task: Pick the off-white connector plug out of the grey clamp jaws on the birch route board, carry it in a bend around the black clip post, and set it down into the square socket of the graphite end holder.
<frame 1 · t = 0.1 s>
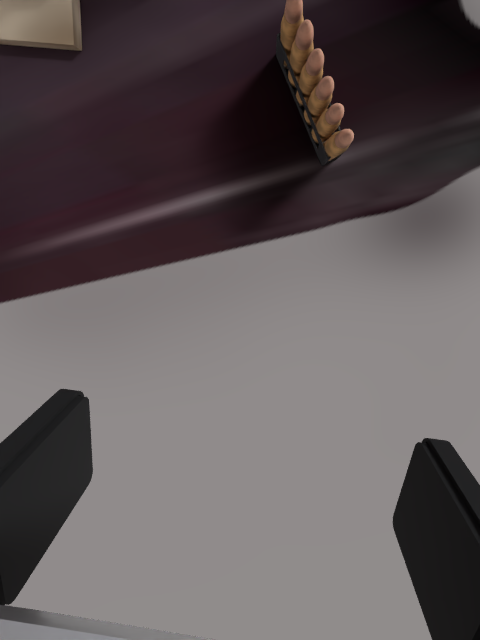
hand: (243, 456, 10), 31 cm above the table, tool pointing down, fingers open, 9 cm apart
ammunition clip: (308, 107, 35), on the table
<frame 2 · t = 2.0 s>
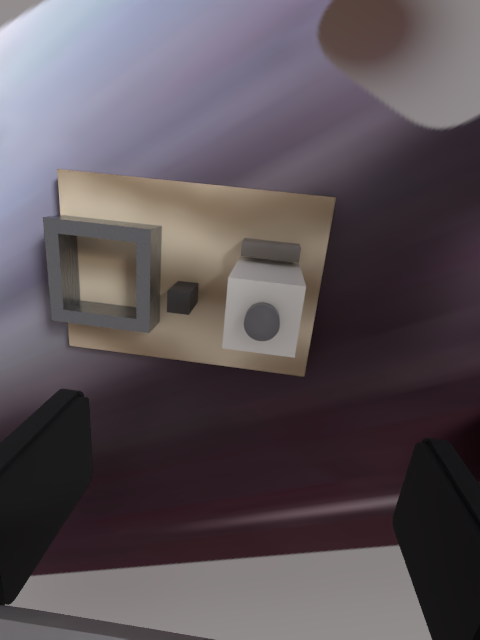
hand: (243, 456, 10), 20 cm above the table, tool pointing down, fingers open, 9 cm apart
route board: (192, 275, 30), on the table
end holder: (113, 270, 29), resting on route board
plug: (266, 288, 28), point 1 cm above the table, touching route board
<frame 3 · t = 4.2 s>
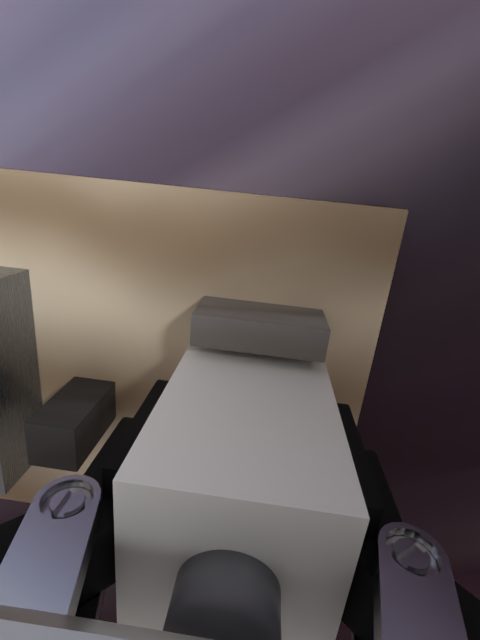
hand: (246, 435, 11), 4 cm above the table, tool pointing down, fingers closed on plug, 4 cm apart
route board: (111, 357, 15), on the table
plug: (251, 395, 14), point 2 cm above the table, touching gripper, route board
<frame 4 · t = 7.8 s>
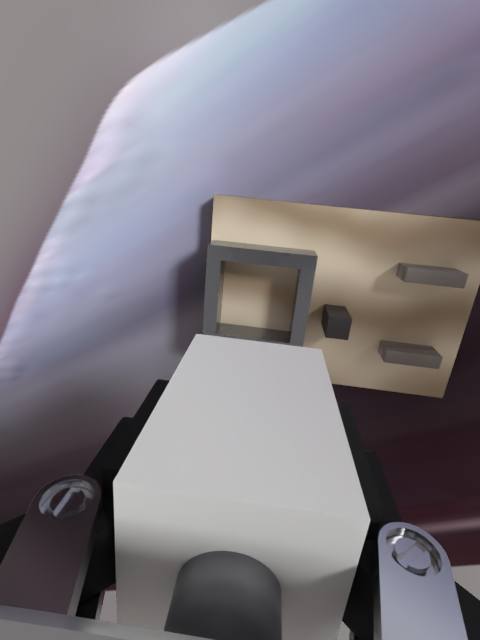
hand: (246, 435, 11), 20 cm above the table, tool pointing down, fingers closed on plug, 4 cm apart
route board: (332, 297, 30), on the table
end holder: (258, 293, 29), resting on route board
plug: (251, 395, 14), point 17 cm above the table, touching gripper
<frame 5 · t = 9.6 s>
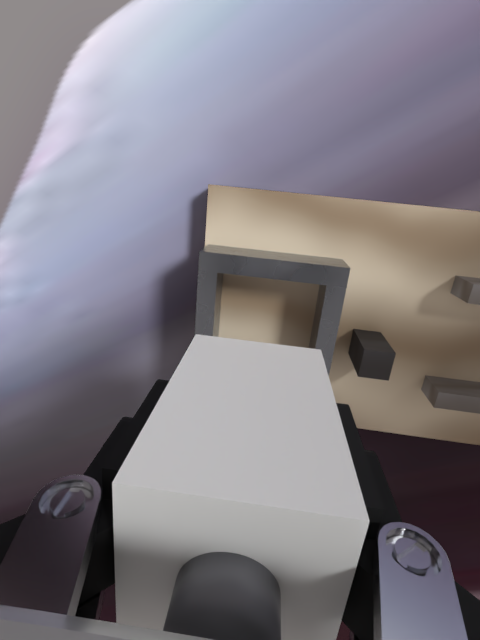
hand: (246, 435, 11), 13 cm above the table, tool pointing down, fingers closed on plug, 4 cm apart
route board: (362, 318, 23), on the table
end holder: (266, 314, 22), resting on route board
plug: (251, 396, 13), point 11 cm above the table, touching gripper
when the fingers open (5 cm above the table, at t = 11.3 s): plug drops 1 cm, resting on route board.
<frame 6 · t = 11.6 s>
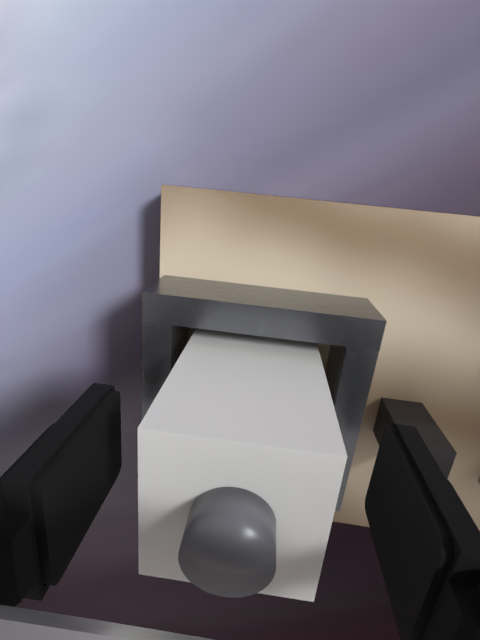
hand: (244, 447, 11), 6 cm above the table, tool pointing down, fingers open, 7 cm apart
route board: (391, 377, 16), on the table
end holder: (253, 376, 15), resting on route board
plug: (251, 376, 15), point 1 cm above the table, touching route board
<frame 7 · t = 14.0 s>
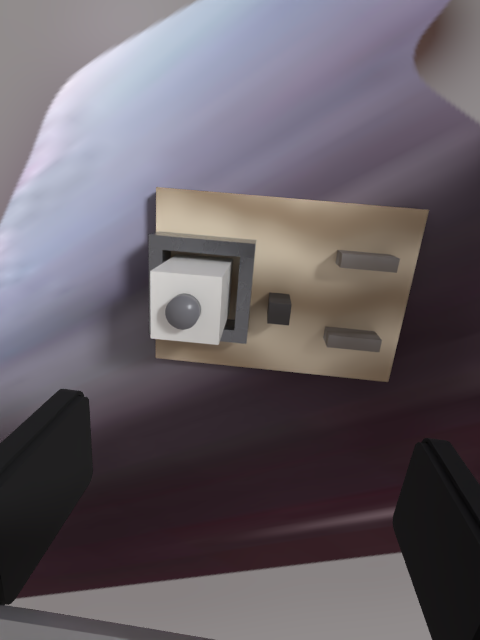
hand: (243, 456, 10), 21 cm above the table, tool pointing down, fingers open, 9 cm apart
route board: (279, 286, 30), on the table
end holder: (204, 283, 29), resting on route board
plug: (203, 283, 29), point 1 cm above the table, touching route board
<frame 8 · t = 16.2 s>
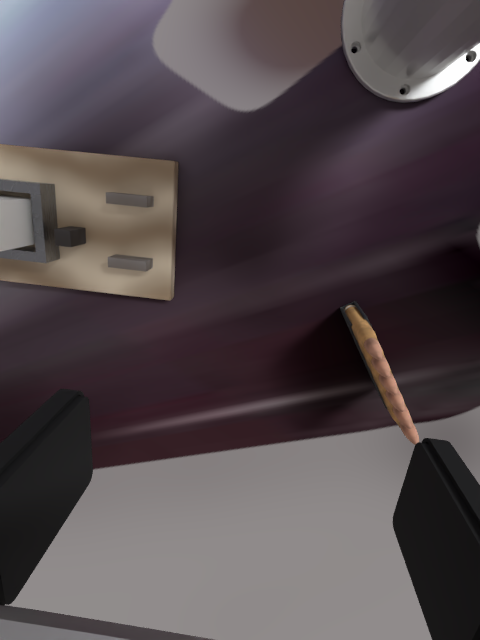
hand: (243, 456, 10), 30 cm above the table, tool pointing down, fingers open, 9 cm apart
route board: (84, 223, 39), on the table
end holder: (22, 218, 38), resting on route board
ammunition clip: (365, 344, 41), on the table
plug: (21, 218, 38), point 1 cm above the table, touching route board
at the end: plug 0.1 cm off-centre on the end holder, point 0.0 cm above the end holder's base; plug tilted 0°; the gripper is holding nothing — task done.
